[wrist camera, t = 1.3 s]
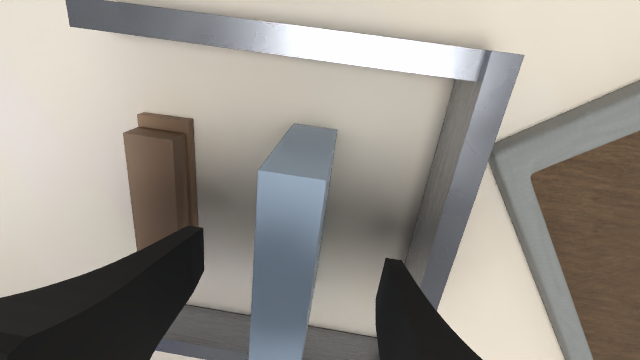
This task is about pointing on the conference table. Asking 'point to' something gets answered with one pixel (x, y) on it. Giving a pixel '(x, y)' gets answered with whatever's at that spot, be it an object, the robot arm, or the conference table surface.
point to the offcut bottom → (186, 127)
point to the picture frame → (581, 220)
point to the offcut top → (157, 183)
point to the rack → (355, 49)
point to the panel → (289, 240)
